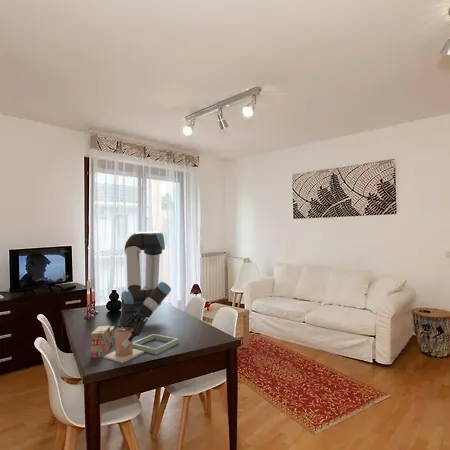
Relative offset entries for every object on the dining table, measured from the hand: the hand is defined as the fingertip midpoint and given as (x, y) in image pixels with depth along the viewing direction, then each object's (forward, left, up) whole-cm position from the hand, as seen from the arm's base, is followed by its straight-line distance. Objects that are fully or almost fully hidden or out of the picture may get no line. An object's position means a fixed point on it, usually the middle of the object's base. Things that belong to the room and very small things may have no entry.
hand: (119, 342), depth 164 cm
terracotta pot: (+1, +2, -6) cm, 7 cm away
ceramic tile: (+1, +2, -7) cm, 7 cm away
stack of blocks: (-15, +3, -7) cm, 17 cm away
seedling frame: (+5, +20, -7) cm, 22 cm away
